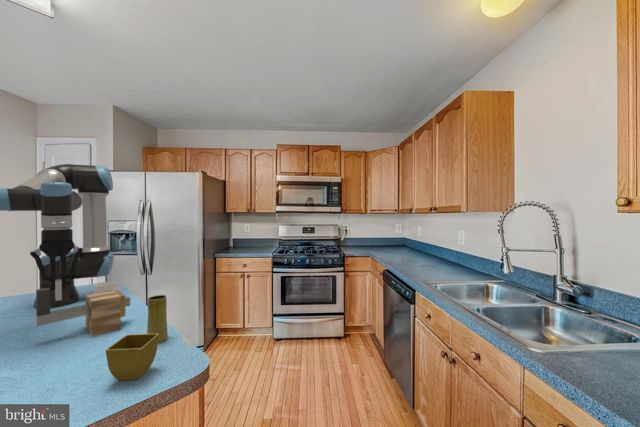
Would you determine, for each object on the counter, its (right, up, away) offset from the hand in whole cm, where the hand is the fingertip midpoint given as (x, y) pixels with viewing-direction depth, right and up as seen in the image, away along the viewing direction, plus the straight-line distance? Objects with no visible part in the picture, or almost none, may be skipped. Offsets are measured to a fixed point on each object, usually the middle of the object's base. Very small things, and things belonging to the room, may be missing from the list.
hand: (58, 299), depth 91 cm
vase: (+33, -14, 0) cm, 36 cm away
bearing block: (+8, -13, +9) cm, 18 cm away
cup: (-3, -13, +25) cm, 29 cm away
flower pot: (+39, -14, -20) cm, 46 cm away
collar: (+11, -10, +13) cm, 20 cm away
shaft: (+5, -7, +6) cm, 10 cm away
